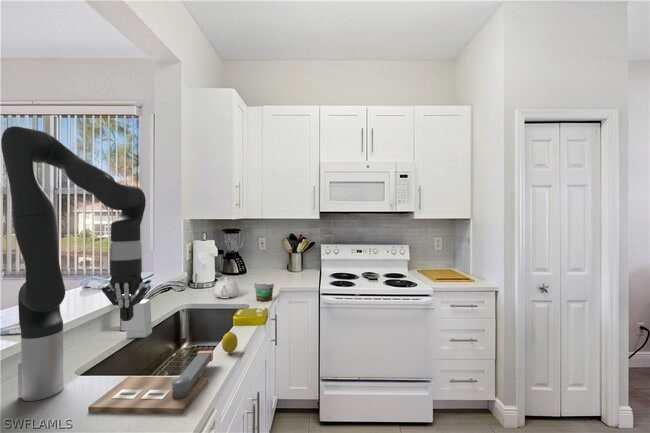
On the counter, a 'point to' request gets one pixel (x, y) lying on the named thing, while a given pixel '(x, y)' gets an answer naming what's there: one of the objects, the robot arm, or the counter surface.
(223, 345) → the lemon
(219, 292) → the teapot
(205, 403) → the counter surface
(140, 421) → the counter surface
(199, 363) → the swing arm
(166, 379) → the label board
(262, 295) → the food container
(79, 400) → the counter surface
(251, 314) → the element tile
